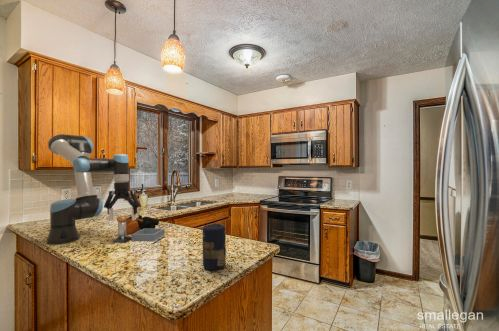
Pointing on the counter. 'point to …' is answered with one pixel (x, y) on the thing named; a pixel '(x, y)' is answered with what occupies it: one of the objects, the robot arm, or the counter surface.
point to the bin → (148, 235)
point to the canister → (214, 246)
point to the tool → (140, 224)
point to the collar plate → (120, 240)
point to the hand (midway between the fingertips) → (122, 220)
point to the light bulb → (121, 227)
